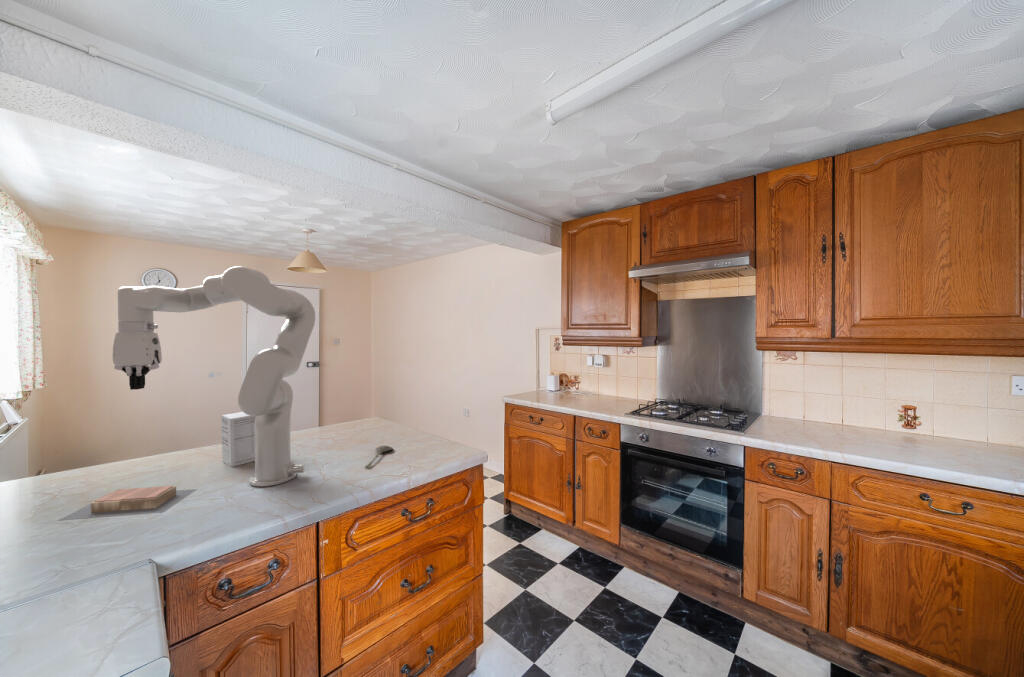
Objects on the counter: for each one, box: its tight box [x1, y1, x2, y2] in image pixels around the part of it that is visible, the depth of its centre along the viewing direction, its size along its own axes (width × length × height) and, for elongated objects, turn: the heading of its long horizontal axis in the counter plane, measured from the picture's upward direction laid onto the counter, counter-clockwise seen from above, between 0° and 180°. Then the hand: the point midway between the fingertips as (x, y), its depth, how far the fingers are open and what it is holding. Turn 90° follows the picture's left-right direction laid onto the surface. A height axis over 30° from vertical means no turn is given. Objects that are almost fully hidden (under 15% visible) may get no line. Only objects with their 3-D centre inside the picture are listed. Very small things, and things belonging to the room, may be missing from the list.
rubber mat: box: [57, 488, 198, 521], centre depth 100 cm, size 22×14×1 cm, turn 101°
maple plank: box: [90, 485, 177, 513], centre depth 100 cm, size 3×8×14 cm
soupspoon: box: [364, 445, 394, 470], centre depth 138 cm, size 22×3×7 cm
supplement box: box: [220, 411, 256, 468], centre depth 134 cm, size 10×9×17 cm
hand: (137, 388), depth 113 cm, fingers closed
